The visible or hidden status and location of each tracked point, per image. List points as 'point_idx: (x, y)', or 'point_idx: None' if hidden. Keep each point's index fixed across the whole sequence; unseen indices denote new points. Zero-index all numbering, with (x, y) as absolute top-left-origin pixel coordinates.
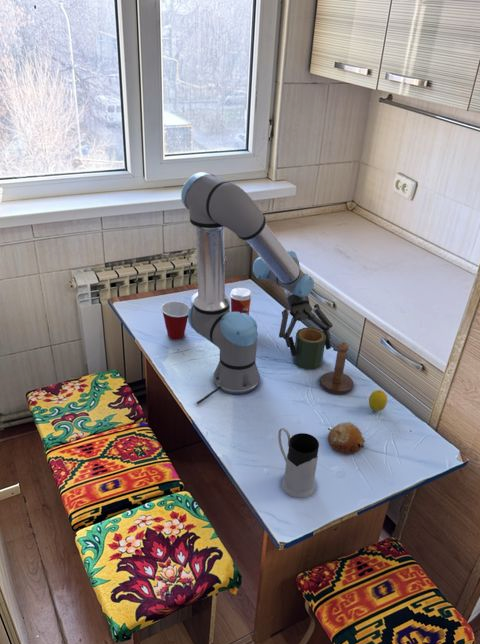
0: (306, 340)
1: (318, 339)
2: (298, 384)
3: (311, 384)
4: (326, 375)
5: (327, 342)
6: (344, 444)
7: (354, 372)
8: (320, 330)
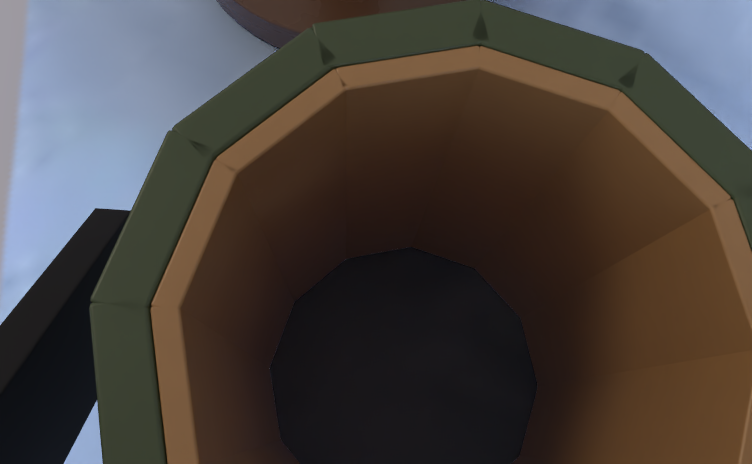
0: (694, 159)
1: (227, 378)
2: (693, 62)
3: (571, 16)
4: (396, 2)
5: (95, 285)
6: None
7: (49, 6)
8: (106, 434)
